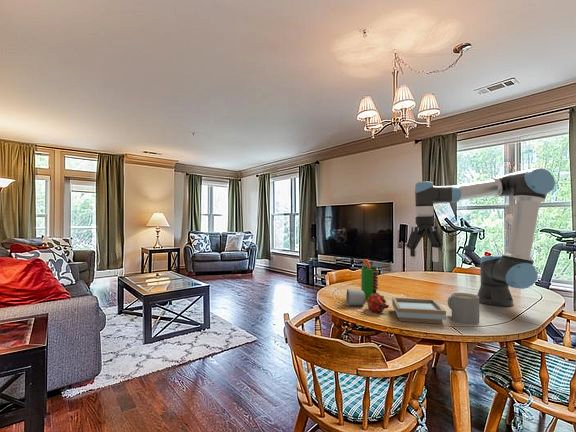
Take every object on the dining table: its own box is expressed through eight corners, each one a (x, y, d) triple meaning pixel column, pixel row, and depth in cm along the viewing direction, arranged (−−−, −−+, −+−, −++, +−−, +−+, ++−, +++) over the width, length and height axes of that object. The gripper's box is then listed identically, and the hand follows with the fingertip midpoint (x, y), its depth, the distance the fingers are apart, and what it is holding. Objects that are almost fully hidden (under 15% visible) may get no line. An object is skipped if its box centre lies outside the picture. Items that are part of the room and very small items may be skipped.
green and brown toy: (379, 300, 159) (379, 261, 159) (361, 299, 161) (361, 260, 161) (377, 295, 169) (377, 258, 169) (360, 294, 171) (360, 258, 171)
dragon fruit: (373, 310, 148) (382, 322, 136) (359, 300, 147) (367, 311, 135) (384, 296, 148) (394, 306, 136) (370, 286, 146) (379, 296, 135)
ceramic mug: (366, 307, 147) (365, 290, 148) (348, 307, 147) (348, 291, 148) (360, 301, 158) (360, 286, 158) (344, 301, 158) (344, 286, 158)
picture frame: (434, 311, 140) (434, 299, 140) (446, 325, 123) (446, 310, 123) (392, 309, 144) (392, 297, 144) (397, 322, 126) (397, 308, 126)
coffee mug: (485, 323, 124) (485, 298, 125) (462, 324, 123) (462, 298, 123) (462, 313, 138) (462, 290, 138) (441, 314, 137) (441, 291, 137)
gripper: (436, 215, 151) (437, 259, 150) (397, 216, 140) (398, 263, 140) (450, 215, 144) (451, 261, 144) (410, 216, 133) (411, 265, 133)
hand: (425, 262), depth 142 cm, fingers open, 13 cm apart
